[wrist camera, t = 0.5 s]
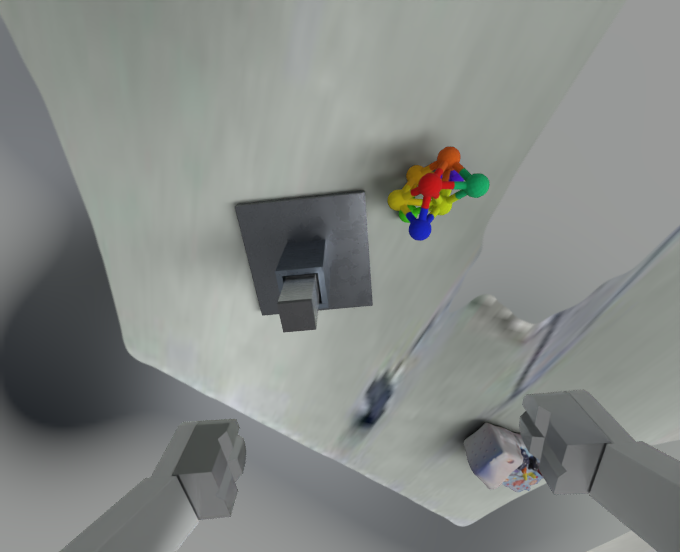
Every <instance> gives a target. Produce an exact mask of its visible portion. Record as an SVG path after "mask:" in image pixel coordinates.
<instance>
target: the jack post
mask: <svg viewBox="0 0 680 552" xmlns="http://www.w3.org/2000/svg"><path fill="white" fill-rule="evenodd" d="M319 297H320V285H319V279H318V273H310V274H300V275H290V276H286V279H285V282H284V285H283V288H282V291H281V294H280V297H279V300H278V303H277V306H278V310H279V315H280V319H281V324H282V328H283V332H293V331H304V330H315V329H316V326H317V316H318V306H319Z"/></svg>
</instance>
